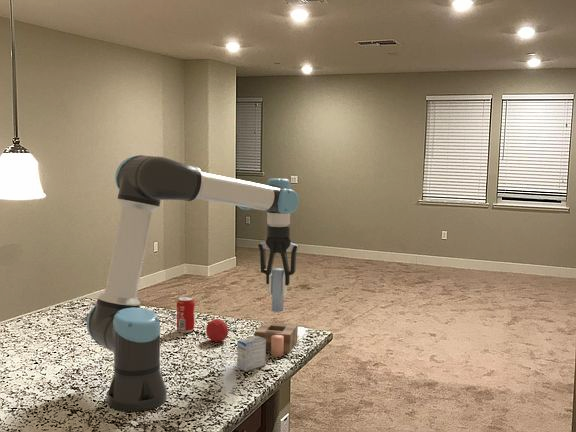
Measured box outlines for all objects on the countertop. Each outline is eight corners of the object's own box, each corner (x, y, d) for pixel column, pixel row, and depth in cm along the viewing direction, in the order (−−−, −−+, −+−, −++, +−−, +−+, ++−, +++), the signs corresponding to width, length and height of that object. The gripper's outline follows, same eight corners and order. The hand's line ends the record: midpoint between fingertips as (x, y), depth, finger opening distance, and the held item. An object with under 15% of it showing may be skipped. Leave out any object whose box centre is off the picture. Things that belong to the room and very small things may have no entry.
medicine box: (256, 362, 195) (256, 335, 194) (265, 365, 192) (266, 338, 191) (236, 368, 189) (237, 340, 189) (246, 372, 186) (246, 343, 185)
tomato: (208, 319, 210) (225, 311, 216) (198, 329, 215) (214, 320, 221) (221, 339, 208) (237, 331, 214) (210, 349, 214) (226, 340, 219)
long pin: (281, 312, 208) (282, 271, 206) (270, 311, 209) (270, 270, 207) (284, 309, 212) (285, 268, 210) (273, 308, 213) (273, 268, 211)
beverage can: (197, 330, 227) (198, 298, 226) (186, 334, 222) (186, 301, 220) (184, 327, 230) (184, 295, 229) (173, 331, 225) (173, 298, 224)
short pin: (281, 357, 200) (282, 339, 199) (269, 356, 201) (270, 338, 200) (284, 353, 204) (284, 335, 203) (272, 352, 205) (273, 334, 204)
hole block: (289, 352, 204) (290, 334, 204) (254, 349, 207) (254, 331, 206) (297, 341, 216) (297, 324, 215) (263, 338, 219) (263, 321, 218)
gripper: (305, 224, 209) (304, 293, 211) (256, 222, 212) (256, 290, 215) (301, 227, 201) (300, 298, 204) (250, 225, 205) (250, 295, 208)
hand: (277, 294), depth 210 cm, fingers closed on long pin, 4 cm apart
